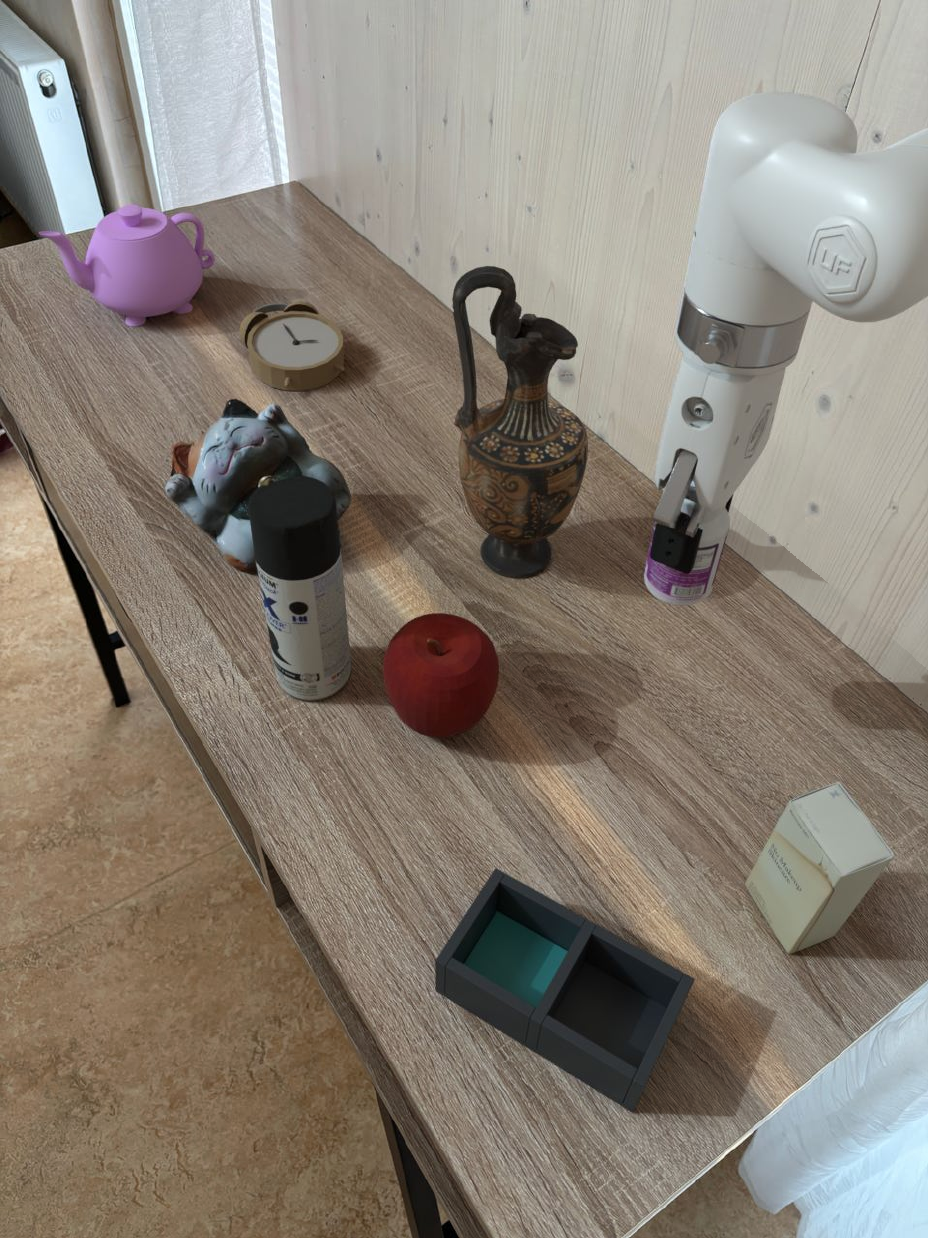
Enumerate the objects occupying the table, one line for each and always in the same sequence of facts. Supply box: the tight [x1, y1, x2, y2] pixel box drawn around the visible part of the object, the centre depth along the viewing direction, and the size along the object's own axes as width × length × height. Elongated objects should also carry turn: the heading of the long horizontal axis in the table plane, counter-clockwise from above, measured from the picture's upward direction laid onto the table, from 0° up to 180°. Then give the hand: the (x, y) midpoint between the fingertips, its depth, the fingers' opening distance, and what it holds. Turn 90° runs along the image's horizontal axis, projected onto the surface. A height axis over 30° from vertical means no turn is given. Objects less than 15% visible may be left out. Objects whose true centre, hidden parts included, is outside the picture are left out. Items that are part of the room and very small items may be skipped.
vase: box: [451, 265, 589, 579], centre depth 90 cm, size 12×12×30 cm
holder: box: [434, 868, 696, 1114], centre depth 69 cm, size 15×8×5 cm, turn 59°
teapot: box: [38, 204, 216, 327], centre depth 125 cm, size 20×14×12 cm
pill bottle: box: [643, 481, 731, 607], centre depth 75 cm, size 5×5×10 cm
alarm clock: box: [238, 300, 346, 392], centre depth 121 cm, size 11×5×15 cm
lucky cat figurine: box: [164, 398, 352, 575], centre depth 98 cm, size 15×12×14 cm
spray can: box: [248, 475, 352, 702], centre depth 82 cm, size 7×7×20 cm
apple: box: [382, 612, 500, 738], centre depth 83 cm, size 10×10×10 cm
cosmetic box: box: [744, 781, 894, 955], centre depth 71 cm, size 6×4×12 cm
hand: (688, 538), depth 75 cm, fingers closed on pill bottle, 5 cm apart
